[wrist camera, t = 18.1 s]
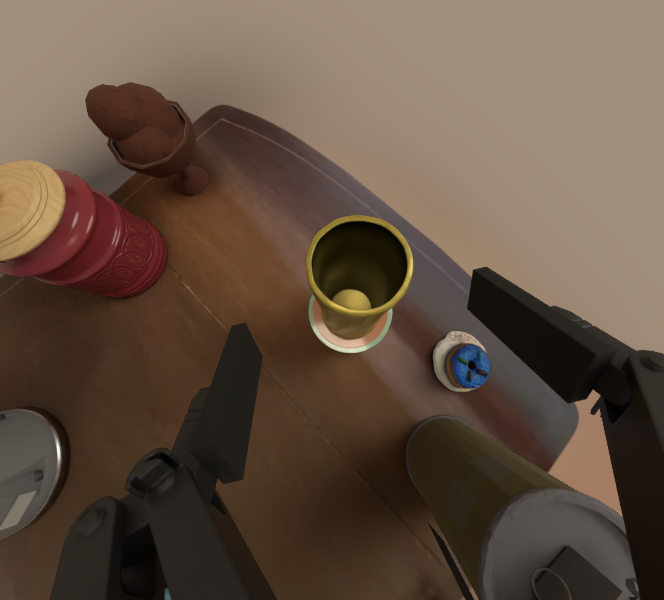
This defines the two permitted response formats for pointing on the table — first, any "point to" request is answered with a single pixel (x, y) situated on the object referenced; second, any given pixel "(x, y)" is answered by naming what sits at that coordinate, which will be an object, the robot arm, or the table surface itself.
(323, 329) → the mug
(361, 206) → the table surface
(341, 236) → the vase
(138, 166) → the ice cream bowl
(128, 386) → the table surface
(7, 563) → the table surface
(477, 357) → the dessert
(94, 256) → the kitchen canister
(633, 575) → the canister
